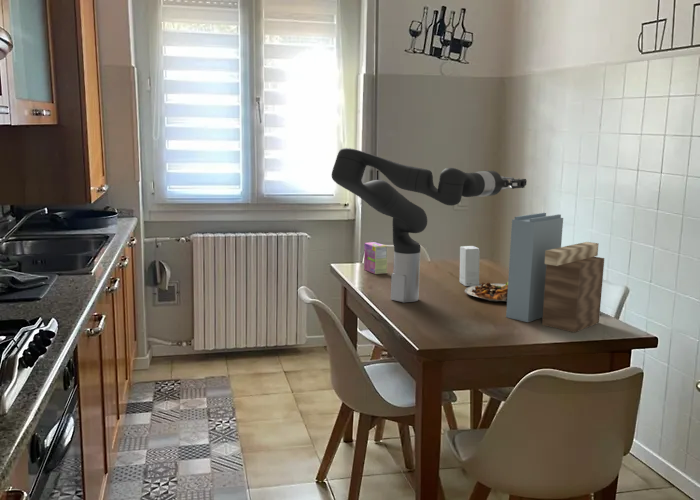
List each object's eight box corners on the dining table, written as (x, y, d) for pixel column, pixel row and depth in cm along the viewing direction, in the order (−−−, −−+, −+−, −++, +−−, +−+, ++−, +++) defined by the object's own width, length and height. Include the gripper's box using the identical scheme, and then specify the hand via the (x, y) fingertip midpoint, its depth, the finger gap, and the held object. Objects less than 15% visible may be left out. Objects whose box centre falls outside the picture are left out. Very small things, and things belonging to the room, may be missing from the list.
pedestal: (527, 322, 222) (534, 219, 216) (506, 317, 227) (512, 216, 221) (556, 312, 234) (563, 214, 228) (535, 308, 240) (541, 212, 234)
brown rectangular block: (556, 265, 205) (557, 252, 204) (544, 263, 208) (545, 250, 207) (597, 255, 223) (598, 243, 222) (585, 254, 226) (586, 241, 225)
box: (363, 269, 298) (364, 242, 296) (375, 269, 300) (376, 241, 298) (374, 274, 289) (375, 246, 287) (386, 273, 291) (387, 245, 289)
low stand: (574, 332, 211) (580, 264, 208) (542, 324, 219) (546, 259, 215) (598, 322, 223) (604, 258, 219) (567, 315, 230) (571, 253, 227)
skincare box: (479, 286, 271) (481, 248, 268) (464, 286, 270) (466, 248, 267) (472, 281, 279) (474, 245, 276) (458, 281, 278) (459, 245, 276)
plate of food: (543, 291, 265) (543, 275, 264) (542, 308, 239) (543, 291, 238) (468, 288, 273) (469, 272, 272) (460, 304, 246) (460, 287, 245)
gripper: (505, 172, 204) (534, 170, 215) (464, 169, 214) (494, 168, 225) (503, 198, 205) (532, 195, 217) (463, 194, 215) (493, 191, 226)
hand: (513, 181), depth 221 cm, fingers open, 8 cm apart
